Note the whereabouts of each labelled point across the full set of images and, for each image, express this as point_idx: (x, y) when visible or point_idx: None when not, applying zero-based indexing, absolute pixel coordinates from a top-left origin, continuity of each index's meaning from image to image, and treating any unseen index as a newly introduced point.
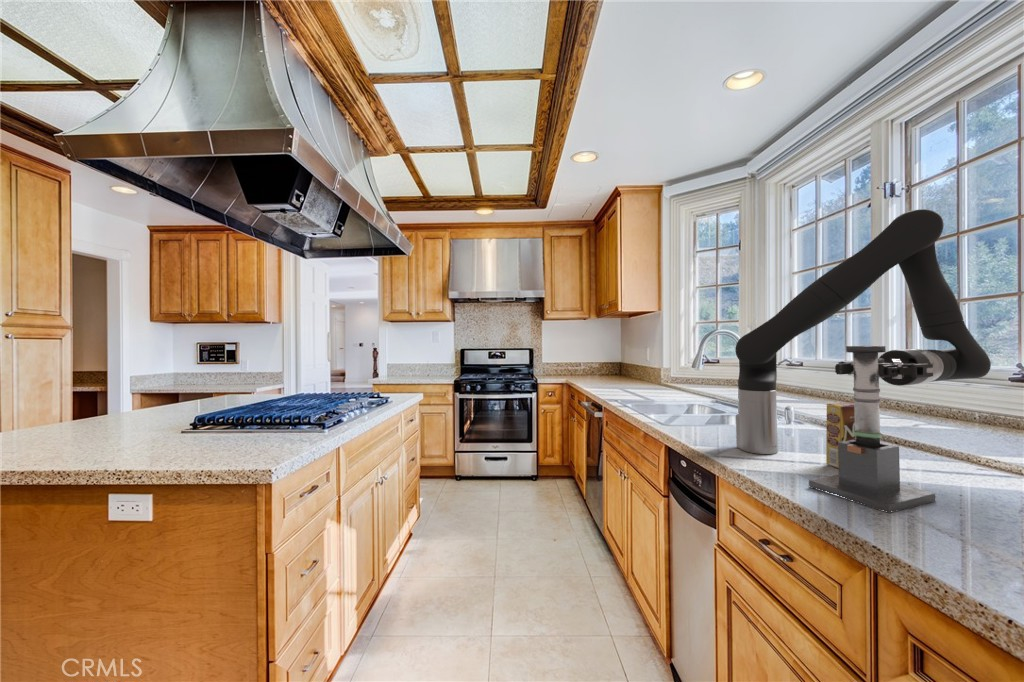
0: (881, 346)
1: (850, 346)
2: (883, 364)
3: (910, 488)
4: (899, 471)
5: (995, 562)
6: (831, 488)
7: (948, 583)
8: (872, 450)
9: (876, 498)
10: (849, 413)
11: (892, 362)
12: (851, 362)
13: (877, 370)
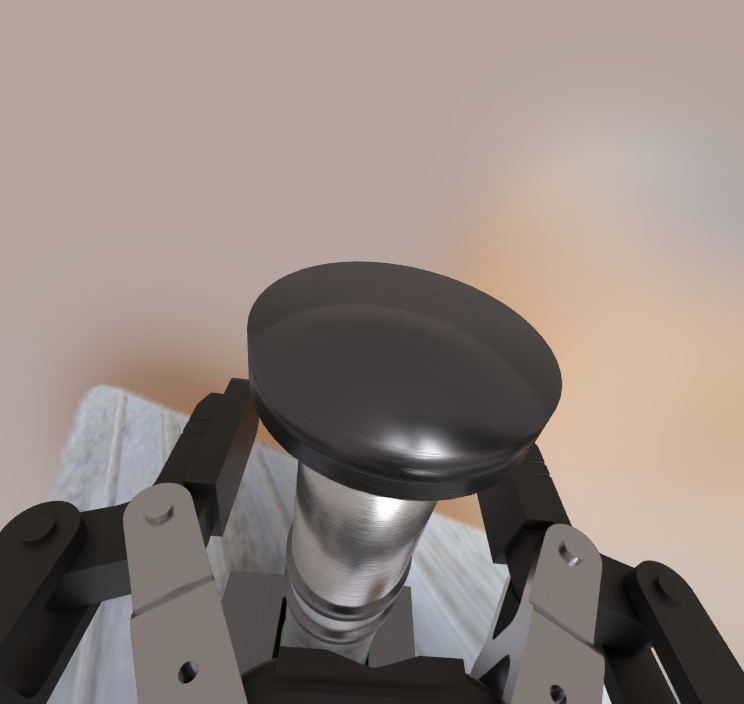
0: (259, 297)
1: (446, 280)
2: (328, 650)
3: None
4: None
5: (73, 495)
6: None
7: (138, 397)
8: (281, 579)
9: (261, 593)
10: None
11: (246, 701)
12: (590, 590)
13: (297, 473)
